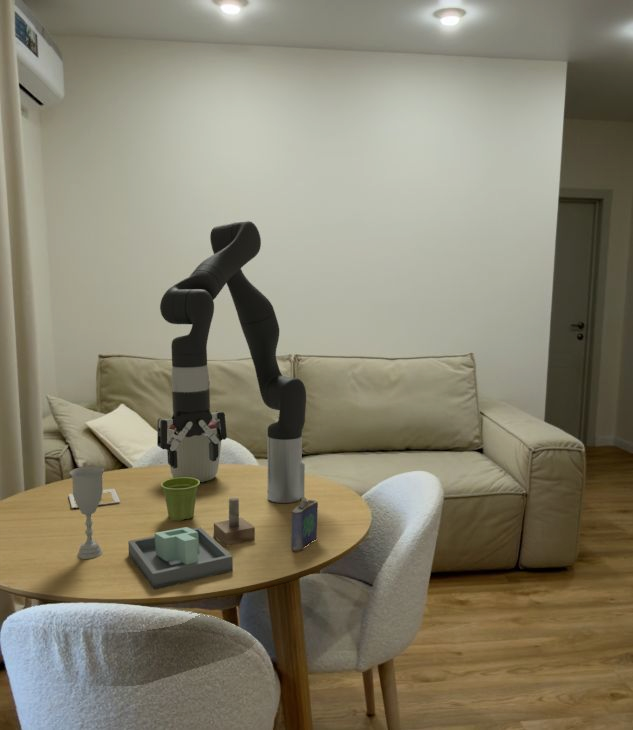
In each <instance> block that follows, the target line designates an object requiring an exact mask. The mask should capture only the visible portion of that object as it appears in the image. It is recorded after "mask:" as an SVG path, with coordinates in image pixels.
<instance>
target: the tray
mask: <svg viewBox="0 0 633 730" xmlns="http://www.w3.org/2000/svg"><path fill="white" fill-rule="evenodd" d="M191 529H192V530H195V531H197V532H198V538H199V552H200V554H198V562H195V563H191V564H185V563H183V562H181V561H180V560H178V559H175V560H170V561H165V560H163V559H162V558H160V557H159V556H157V555H156V546H155V535H153V536H147V537H143V538H138V539H132V540H131V539H130V540H127V541H128V545H127V546H128V556H129V557H130V558H131V560H132V561H133V563H134V564H135V566H136V567H137V568H138V570H139V571H140V572H141V573H140V574H142V575H143V577H144V578H145V580H146V581H147V583H148V584H149V586H151V588H152V590H157V589H161V588H165V587H170V586H174V585H178V583H179V584H182V583H186V582H190V580H191V581H195V579H196V580H199V579H203V578H208V577H212V576H216V575H221V574H226V573H230V572H233V569H234V567H233V565H234V563H233V561H234V559H233V558H234V556H233V555H232V554H231V553H230V552H228V550H226V549H225V548H224V547H223V546H222V545H221V544H220V543H218V542H217V541H216V539H214V538H213V537H212V536H211V535H210V534H209V533H207V531H206V530H205V529H204V528H202V527H200V526H199V527H194V528H191Z"/></svg>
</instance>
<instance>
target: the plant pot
mask: <svg viewBox="0 0 633 730" xmlns="http://www.w3.org/2000/svg"><path fill="white" fill-rule="evenodd" d="M200 484H201V483H200V481H199V480H198V479H195V478H189V477H179V478H169V479H166V480H163V481H162V482H161V483H160V487H161V488H162V493H164V499H165V502H166V510H167V515H168V518H169V519H170V520H172V521H179V522H180V521H183V520H185V519H187V520H190V519H191V518H193V517H194V516H195V515H194V514H195V506H196V500H197V498H196V497H197V492H198V490H199V486H200Z"/></svg>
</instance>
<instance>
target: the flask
mask: <svg viewBox="0 0 633 730" xmlns="http://www.w3.org/2000/svg"><path fill="white" fill-rule="evenodd" d="M301 498H302V499H301ZM300 500H301V501H300ZM298 501H300V503H299V505H298V506H296V507H295V508H294V509H292V510H291V545H290V546H291V547H290V548H291V551H292V550H293V551H294V552H296V551H299V552H302V551H303V550H304V549H305V548H304V547H305V546H307V545H308V544H309V543H311V542H312V541H314V540H316V539H317V540H318V537H317V535H318V533H317V532H318V528H317V527H318V511H319V510H318V508H319V506H318V505H319V503H318V501H317V500H313V499H308V498H306V497H305V496H304V498H303V497H300V499H299V500H298ZM317 540H316V541H317ZM314 542H315V541H314ZM312 543H313V542H312ZM312 543H311V544H312ZM309 545H310V544H309ZM303 548H304V549H303ZM302 549H303V550H302ZM301 550H302V551H301Z"/></svg>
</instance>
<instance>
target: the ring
mask: <svg viewBox="0 0 633 730" xmlns="http://www.w3.org/2000/svg"><path fill="white" fill-rule="evenodd" d="M192 529H193V528H190V527H188V526H185V527H180V528H174V529H169V530H164V531H159V532H154V536H155V546H156V555H157V556H159V557H160V558H162V559H163V560H165V561H170V560H175V559H178V560H180V561H181V562H183V563H185V564H191V563H195V562H198V554H200V552H199V538H198V532H197V531H195V530H192Z"/></svg>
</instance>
